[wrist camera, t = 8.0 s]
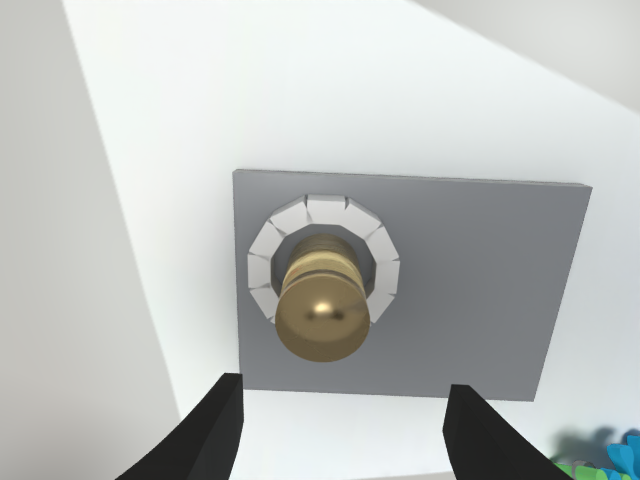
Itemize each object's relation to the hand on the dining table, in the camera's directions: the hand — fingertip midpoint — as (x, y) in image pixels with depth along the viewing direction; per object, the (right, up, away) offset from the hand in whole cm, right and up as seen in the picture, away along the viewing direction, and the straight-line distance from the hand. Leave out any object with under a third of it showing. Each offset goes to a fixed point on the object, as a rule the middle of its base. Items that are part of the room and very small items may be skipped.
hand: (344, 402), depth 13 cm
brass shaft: (-1, +4, +8) cm, 9 cm away
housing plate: (+4, +2, +10) cm, 11 cm away
